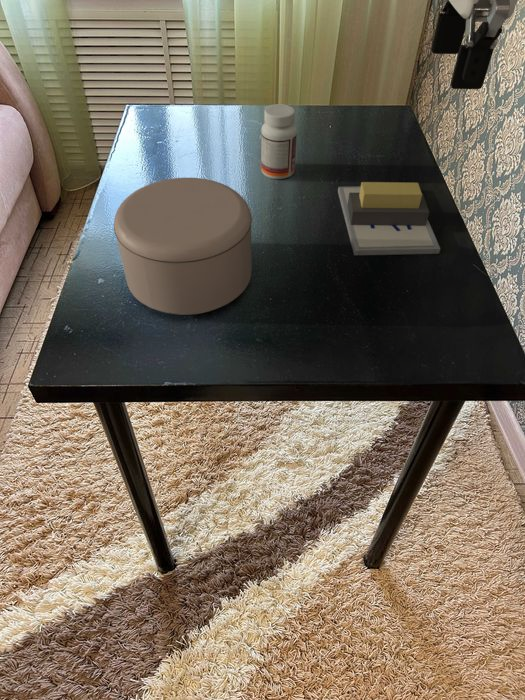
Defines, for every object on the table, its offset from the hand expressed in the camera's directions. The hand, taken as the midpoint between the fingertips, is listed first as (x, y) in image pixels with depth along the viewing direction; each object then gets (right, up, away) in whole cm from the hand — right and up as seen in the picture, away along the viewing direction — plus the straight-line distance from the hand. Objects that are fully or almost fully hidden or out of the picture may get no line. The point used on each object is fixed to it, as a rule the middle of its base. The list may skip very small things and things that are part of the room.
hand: (454, 69), depth 59 cm
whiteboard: (-1, -9, +30) cm, 31 cm away
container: (-32, -21, +19) cm, 42 cm away
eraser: (-1, -9, +29) cm, 30 cm away
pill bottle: (-18, +2, +40) cm, 44 cm away
